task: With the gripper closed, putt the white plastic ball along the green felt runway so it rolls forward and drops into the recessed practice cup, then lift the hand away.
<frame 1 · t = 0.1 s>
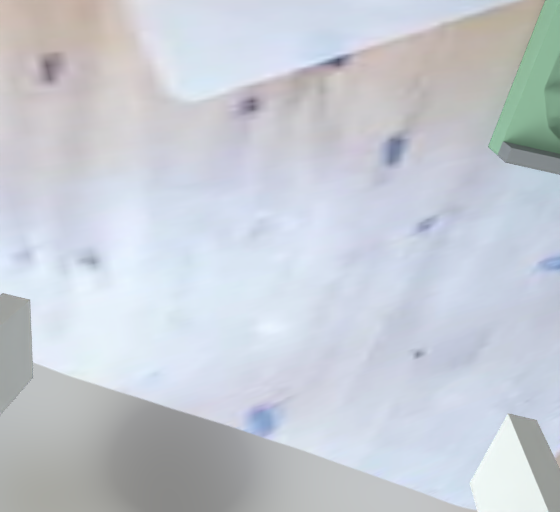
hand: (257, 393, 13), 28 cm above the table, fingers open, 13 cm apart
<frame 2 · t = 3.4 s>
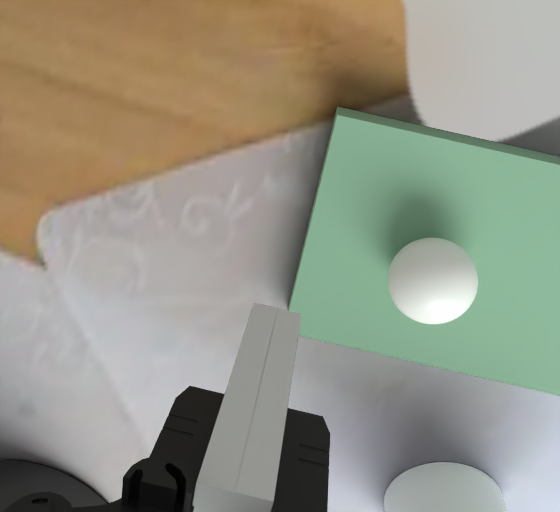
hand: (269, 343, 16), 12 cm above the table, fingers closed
ball: (431, 280, 23), point 4 cm above the table, touching green
cup: (441, 501, 35), on the table
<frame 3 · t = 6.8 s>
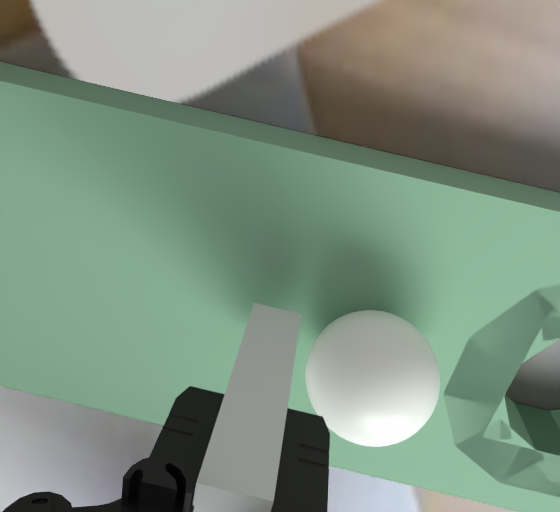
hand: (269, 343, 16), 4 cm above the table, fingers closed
ball: (371, 376, 15), point 4 cm above the table, tilted 73°, touching green
green: (335, 300, 19), on the table
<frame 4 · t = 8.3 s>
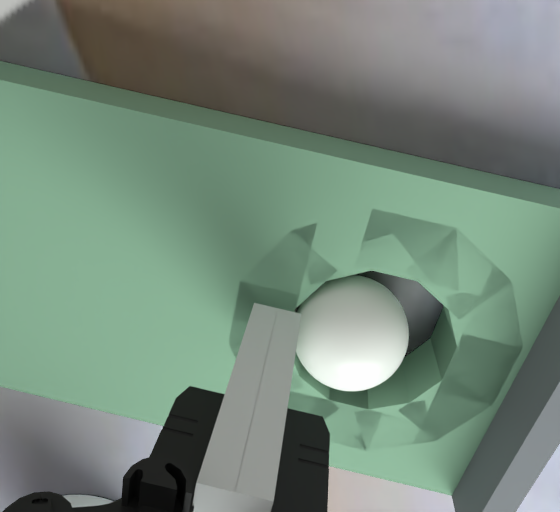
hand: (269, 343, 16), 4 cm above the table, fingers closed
ball: (349, 332, 17), point 2 cm above the table, tilted 138°
green: (140, 253, 19), on the table
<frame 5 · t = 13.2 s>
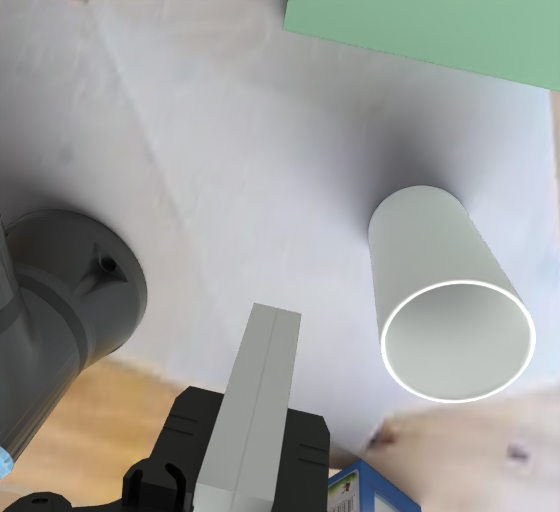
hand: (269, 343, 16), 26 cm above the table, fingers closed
milk carton: (370, 494, 56), on the table
cup: (417, 231, 41), on the table
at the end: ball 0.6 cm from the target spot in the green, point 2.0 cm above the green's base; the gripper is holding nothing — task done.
